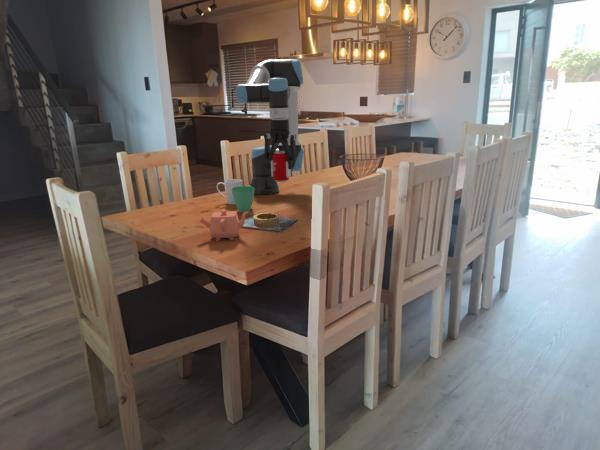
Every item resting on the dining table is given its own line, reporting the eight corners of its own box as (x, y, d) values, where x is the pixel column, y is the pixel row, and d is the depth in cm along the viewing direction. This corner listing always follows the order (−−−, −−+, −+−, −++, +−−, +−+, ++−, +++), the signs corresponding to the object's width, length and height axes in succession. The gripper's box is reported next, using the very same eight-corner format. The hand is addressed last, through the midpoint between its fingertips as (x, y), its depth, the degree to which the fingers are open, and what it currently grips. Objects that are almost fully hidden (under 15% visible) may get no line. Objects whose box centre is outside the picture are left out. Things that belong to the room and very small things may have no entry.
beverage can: (281, 178, 186) (280, 150, 182) (291, 180, 182) (291, 151, 178) (270, 181, 182) (269, 152, 178) (280, 183, 177) (279, 153, 174)
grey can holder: (254, 215, 184) (254, 209, 184) (298, 220, 177) (297, 213, 176) (234, 226, 171) (233, 219, 170) (280, 232, 163) (280, 224, 162)
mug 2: (252, 214, 187) (250, 191, 184) (230, 213, 189) (228, 190, 186) (260, 205, 201) (259, 184, 198) (240, 204, 203) (238, 183, 200)
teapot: (217, 246, 150) (215, 217, 147) (199, 238, 158) (197, 210, 155) (251, 236, 159) (249, 209, 156) (232, 229, 167) (231, 203, 164)
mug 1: (244, 200, 211) (243, 178, 208) (242, 204, 203) (241, 182, 200) (219, 200, 211) (217, 179, 208) (216, 205, 203) (214, 182, 200)
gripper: (253, 119, 175) (256, 176, 182) (297, 119, 167) (298, 179, 174) (262, 117, 181) (265, 173, 188) (305, 118, 174) (305, 176, 181)
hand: (281, 176), depth 181 cm, fingers closed on beverage can, 6 cm apart
